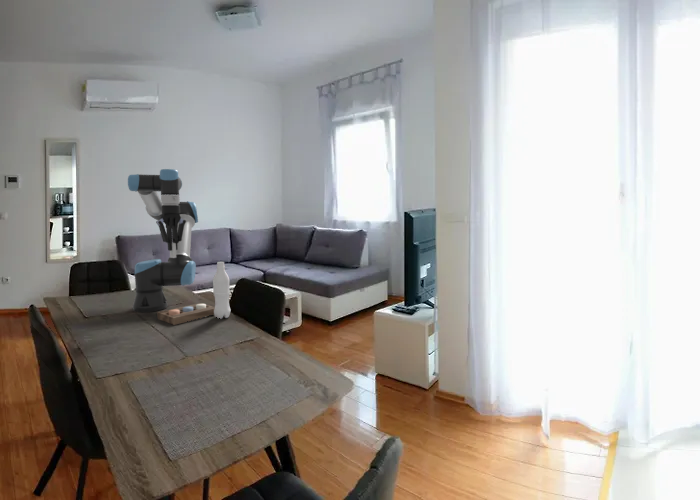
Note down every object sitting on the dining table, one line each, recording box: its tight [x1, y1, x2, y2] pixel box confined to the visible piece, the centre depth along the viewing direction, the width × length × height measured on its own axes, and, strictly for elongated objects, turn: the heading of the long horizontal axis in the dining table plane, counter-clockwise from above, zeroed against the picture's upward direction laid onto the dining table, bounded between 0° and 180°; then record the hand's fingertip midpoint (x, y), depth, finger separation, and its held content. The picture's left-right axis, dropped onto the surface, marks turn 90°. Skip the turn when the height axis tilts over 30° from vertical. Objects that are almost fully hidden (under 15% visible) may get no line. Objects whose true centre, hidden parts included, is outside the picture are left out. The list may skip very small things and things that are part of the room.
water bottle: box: [212, 261, 231, 320], centre depth 184 cm, size 7×7×25 cm
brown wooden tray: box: [156, 302, 215, 326], centre depth 186 cm, size 14×21×3 cm, turn 142°
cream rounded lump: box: [196, 303, 207, 309], centre depth 191 cm, size 4×4×4 cm
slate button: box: [182, 305, 193, 312], centre depth 186 cm, size 4×4×4 cm
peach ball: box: [169, 308, 180, 316], centre depth 181 cm, size 4×4×4 cm
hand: (173, 257), depth 186 cm, fingers closed
